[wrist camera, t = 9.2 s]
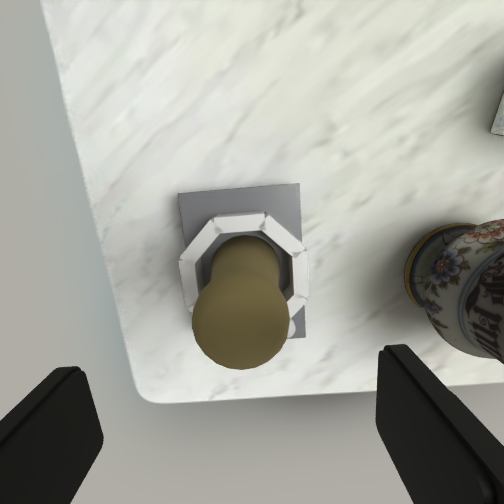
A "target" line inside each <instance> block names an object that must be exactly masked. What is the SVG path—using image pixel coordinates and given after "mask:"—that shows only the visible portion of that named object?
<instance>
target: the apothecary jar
mask: <svg viewBox="0 0 504 504" xmlns="http://www.w3.org/2000/svg"><path fill="white" fill-rule="evenodd" d="M404 275H405V276H404V279H405V286H406V289H407V292H408V294H409V296H410V298H411V299H412V300H413V301H414V303H415V304H416V305H417V306H419V307H425V308H426V312H427V315H428V317H429V320H430V322H431V323H432V325H433V327H434V328H435V330H436V331H437V332H438V334H439V335H440V336H441V337H442V338H443V339H444V340H445V341H446V342H447V343H449V344H450V345H451V346H453V347H455V348H456V349H458V350H460V351H462V352H465V353H467V354H470V355H473V356H477V357H482V358H491V359H497V360H499V361H500V362H501V363H503V364H504V219H500V220H495V221H490V222H487V223H484V224H481V225H474V224H470V223H455V224H449V225H446V226H443V227H440V228H438V229H436V230H434V231H432V232H431V233H429V234H428V235H426V236H425V237H424V238H423V239H422V240H421V241H420V242H419V243H418V244H417V245H416V246H415V248H414V249H413V251H412V252H411V254H410V256H409V258H408V261H407V264H406V267H405V274H404Z"/></svg>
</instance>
